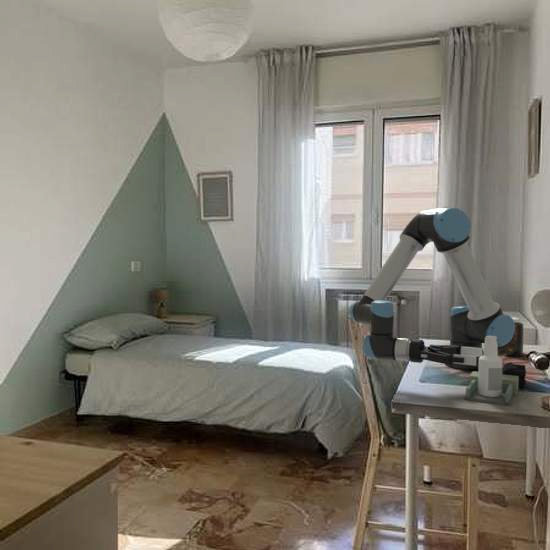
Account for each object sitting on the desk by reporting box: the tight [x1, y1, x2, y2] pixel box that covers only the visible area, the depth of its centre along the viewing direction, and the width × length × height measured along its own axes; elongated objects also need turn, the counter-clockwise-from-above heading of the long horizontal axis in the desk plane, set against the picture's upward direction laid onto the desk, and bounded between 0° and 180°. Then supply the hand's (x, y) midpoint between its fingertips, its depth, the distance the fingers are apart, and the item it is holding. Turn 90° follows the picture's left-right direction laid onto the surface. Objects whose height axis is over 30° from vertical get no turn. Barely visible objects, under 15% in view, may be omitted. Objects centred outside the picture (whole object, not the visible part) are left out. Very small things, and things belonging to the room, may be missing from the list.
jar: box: [497, 316, 524, 356], centre depth 234 cm, size 12×12×15 cm
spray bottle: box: [477, 336, 503, 397], centre depth 168 cm, size 7×7×18 cm
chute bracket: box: [463, 370, 519, 406], centre depth 171 cm, size 20×14×4 cm
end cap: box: [502, 361, 527, 390], centre depth 183 cm, size 10×7×7 cm
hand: (479, 356), depth 169 cm, fingers open, 13 cm apart
